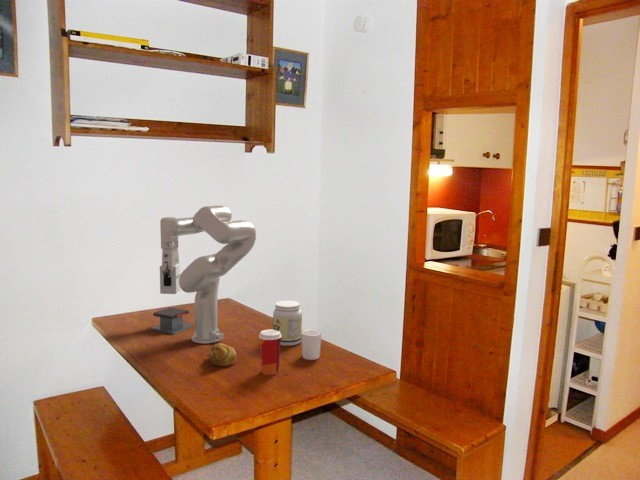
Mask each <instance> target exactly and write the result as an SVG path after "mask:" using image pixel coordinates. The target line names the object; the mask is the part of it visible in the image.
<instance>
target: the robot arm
mask: <svg viewBox="0 0 640 480" xmlns="http://www.w3.org/2000/svg"><path fill="white" fill-rule="evenodd" d="M232 215H233V214H232V212H231V210H230V209H229V208H228V207H227V206H226V205H208V206H203V207H201V208H199V209H198V211H197V212H195V214H194V215H193V216H191V217H182V218H181V217H178V218H176V217H173V216H172V217H171V216H170V217H169V216H167V217H162V218H161V219H160V222H159V223H160V226H159V227H160V228H159V229H160V249H161V250H162V252H161V265H162V271H163V278H164V286H171V277H170V274H171V271H174V266H175V265H177V264H180V257H179V255H180V254H179V237H180V236H188V235H195V234H199V233H203V232H205V233H206V234H208V235H209V236H210V237H211V238H212V239H213V240H214V241H215V242H218V244H222V245H224V246H223V247H222V248H221V249H220V250H219V251H218V252H216V253H213V254H208V255H203V256H199V257H197V258H195V259H194V260H193V261H192V262H191V263H190V264H189V265H188V266H186V268H185V269H184V270H183V271H182V272H180V278H179V286H180V290H182V291H183V292H184V293H188V294H189V293H191V294H192V293H195V295H194V296H195V297H194V334H193V335H192V336H191V337H190V338H191V341H192V342H193V343H195V344H196V343H197V344H204V345H205V344H213V343H217V342H219V341H221V340H223V339H224V337H225V332H221V331H220V328H218V319H219V317H218V296H219V295H218V294H219V293H218V292H219V285H220V280H221V279H220V278H221V277H223V276H225V275H226V274H227V273H228V272H229V271H231V270H232V268H234V267H235V266H236V265H237V264H238V263H239V262H241V260H242V259H244V258H245V257H246V256H247V255H248V254H249V253H250V252H251V251H252V249H253V248H254V245H255V243H256V238H257V232H256V231H257V230H256V228H255V225H254V224H253V223H251V221H247V220H232V217H233V216H232ZM167 267H168V268H169V270H167ZM168 272H169V274H168Z"/></svg>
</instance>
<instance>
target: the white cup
mask: <svg viewBox="0 0 640 480" xmlns="http://www.w3.org/2000/svg"><path fill="white" fill-rule="evenodd" d="M301 338H302V339H301V350H302V351H301V352H302V358H303V359H304V360H308V361H313V360H314V361H315V360H317V359H319V358H320V355H321V354H320V353H321V345H322V331H320V330H318V329H304V330H302V332H301Z"/></svg>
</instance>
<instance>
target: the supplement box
mask: <svg viewBox="0 0 640 480" xmlns="http://www.w3.org/2000/svg"><path fill="white" fill-rule="evenodd" d="M167 270H169V268H168V267H167ZM168 274H169V272H168ZM180 275H181V263H179V264H177V265H175V266H174V271H171V274H170V277H171V286H164V278H163V271H162V264H161V265H160V266H159V287H160V288H159V289H160V290H159V294H161V295H162V294H163V295H177V294H178V293H179V292H180V291H181V288H180V286H179V278H180Z"/></svg>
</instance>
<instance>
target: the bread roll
mask: <svg viewBox="0 0 640 480" xmlns="http://www.w3.org/2000/svg"><path fill="white" fill-rule="evenodd" d="M237 357H238V356H237V352H236V350H235V348H233V346H229V345H227V344H225V343H223V342H219V343H215V344H213V345H212V346H211V347H210V348H209V351H208V358H209V360H210V362H211V364H213V365H214V366H217V367H229V366H231V365H233V364H234V363H236V361H237Z"/></svg>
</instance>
